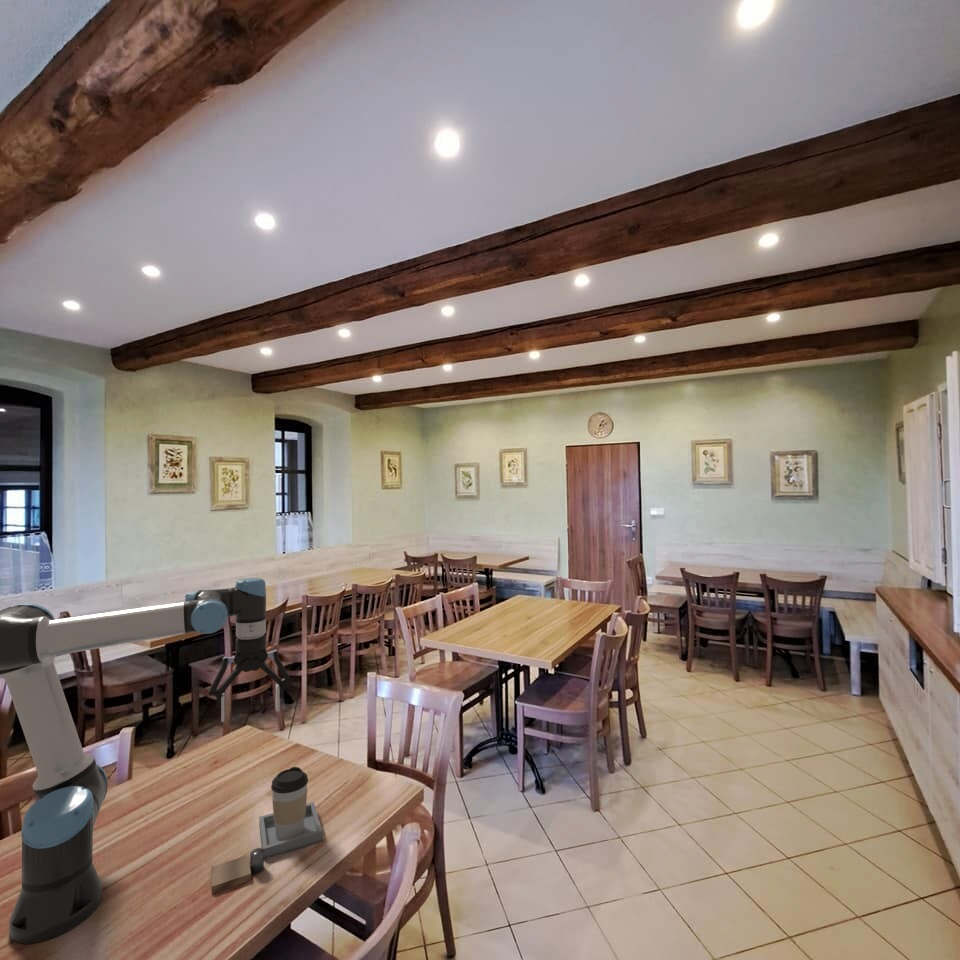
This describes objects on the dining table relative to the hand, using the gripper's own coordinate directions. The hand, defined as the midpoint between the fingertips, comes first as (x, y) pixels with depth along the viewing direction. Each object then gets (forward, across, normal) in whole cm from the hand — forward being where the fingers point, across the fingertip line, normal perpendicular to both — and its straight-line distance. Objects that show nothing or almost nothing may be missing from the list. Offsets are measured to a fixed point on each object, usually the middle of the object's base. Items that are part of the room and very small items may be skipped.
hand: (250, 714), depth 139 cm
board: (+29, -5, -20) cm, 35 cm away
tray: (+29, +9, -10) cm, 32 cm away
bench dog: (+29, 0, -20) cm, 35 cm away
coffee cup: (+28, +9, -10) cm, 31 cm away
